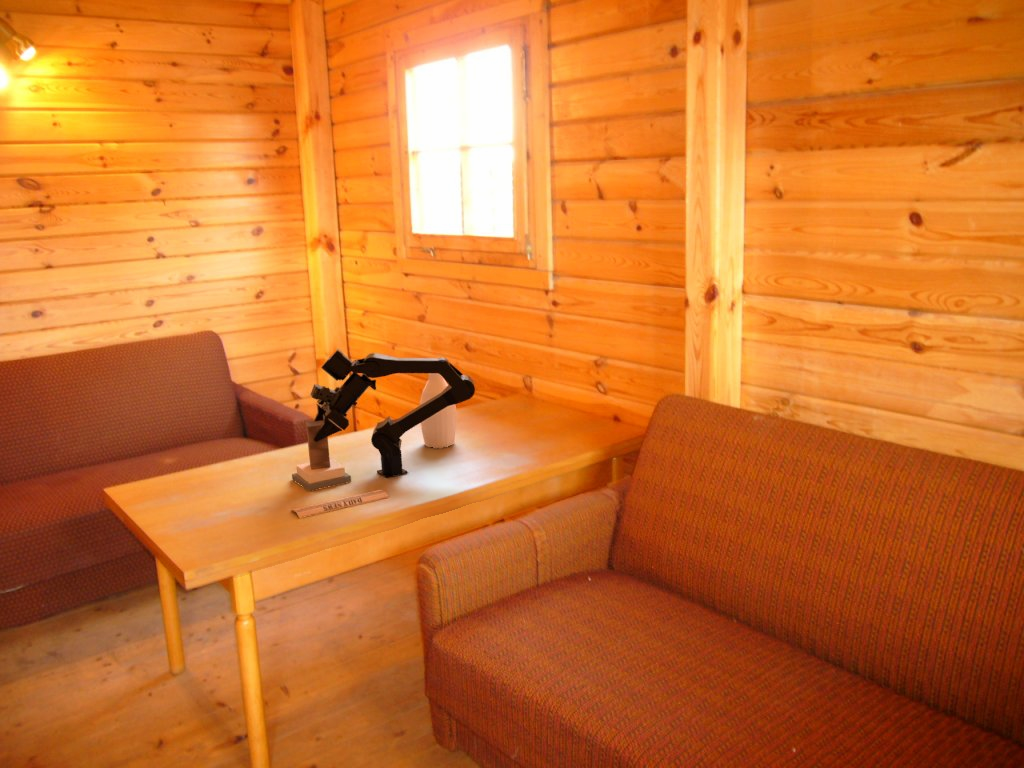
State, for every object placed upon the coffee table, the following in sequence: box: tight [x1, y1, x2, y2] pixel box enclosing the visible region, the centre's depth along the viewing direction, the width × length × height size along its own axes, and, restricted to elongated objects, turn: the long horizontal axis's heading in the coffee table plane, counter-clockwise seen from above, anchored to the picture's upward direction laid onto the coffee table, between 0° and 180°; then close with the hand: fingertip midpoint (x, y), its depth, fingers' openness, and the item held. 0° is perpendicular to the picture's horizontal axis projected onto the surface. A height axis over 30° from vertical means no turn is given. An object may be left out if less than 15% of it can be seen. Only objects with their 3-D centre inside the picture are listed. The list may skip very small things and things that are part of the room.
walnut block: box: [305, 420, 331, 470], centre depth 240 cm, size 5×5×12 cm
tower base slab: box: [291, 472, 352, 492], centre depth 242 cm, size 12×12×2 cm
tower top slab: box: [295, 457, 346, 484], centre depth 242 cm, size 10×10×2 cm
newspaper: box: [290, 489, 389, 519], centre depth 223 cm, size 24×7×2 cm, turn 122°
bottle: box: [419, 373, 457, 449], centre depth 269 cm, size 11×11×25 cm
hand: (312, 436), depth 239 cm, fingers open, 9 cm apart
